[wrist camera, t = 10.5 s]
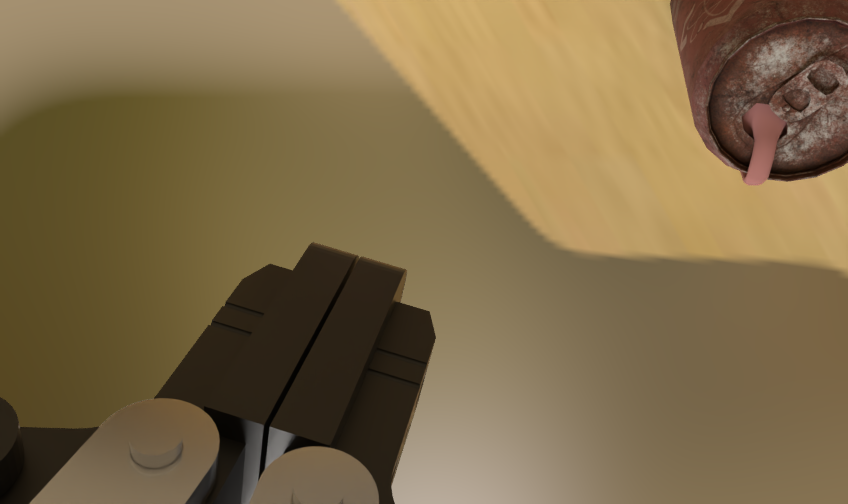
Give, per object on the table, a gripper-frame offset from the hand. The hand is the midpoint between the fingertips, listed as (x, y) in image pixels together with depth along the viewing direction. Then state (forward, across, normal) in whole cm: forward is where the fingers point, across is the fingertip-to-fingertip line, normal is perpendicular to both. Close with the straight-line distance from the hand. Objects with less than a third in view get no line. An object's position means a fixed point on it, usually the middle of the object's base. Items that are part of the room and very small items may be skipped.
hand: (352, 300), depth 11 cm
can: (+29, -10, 0) cm, 31 cm away
